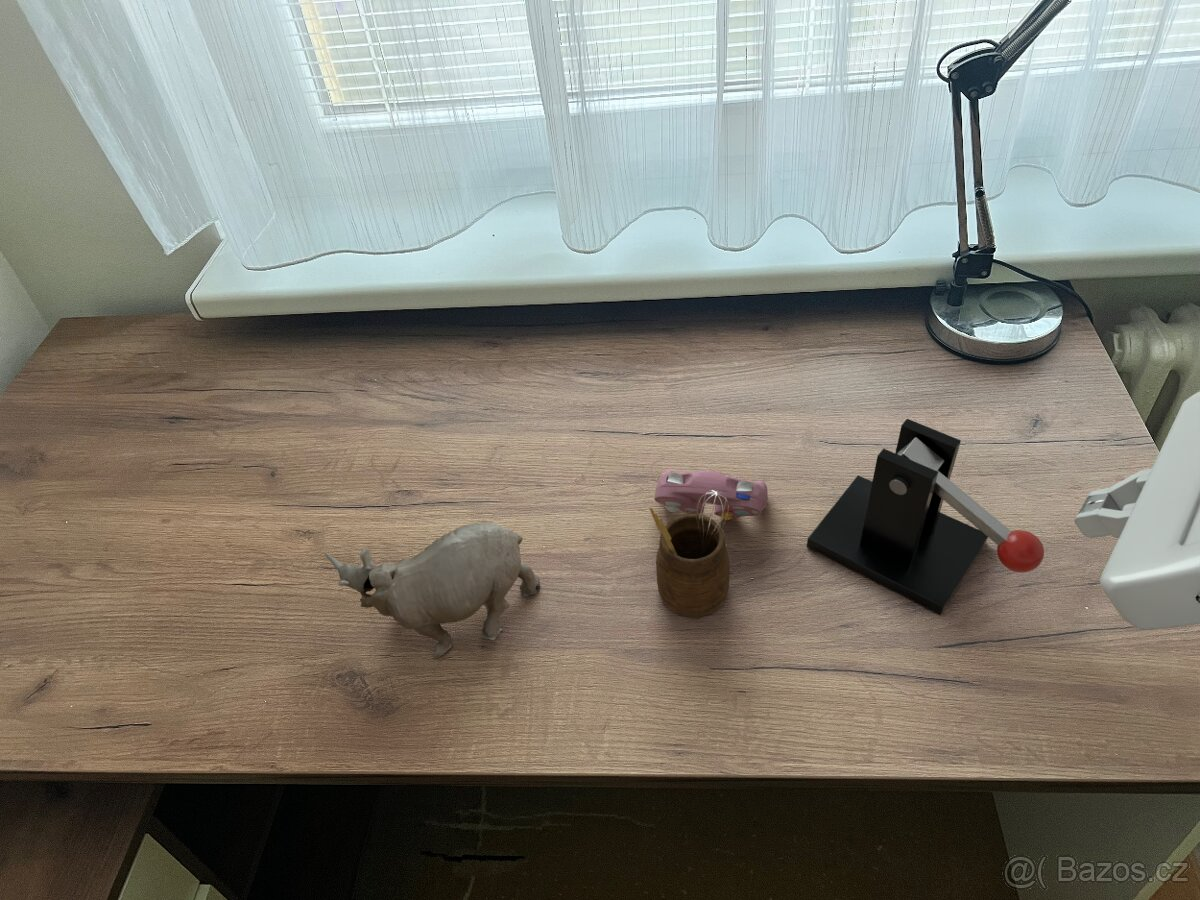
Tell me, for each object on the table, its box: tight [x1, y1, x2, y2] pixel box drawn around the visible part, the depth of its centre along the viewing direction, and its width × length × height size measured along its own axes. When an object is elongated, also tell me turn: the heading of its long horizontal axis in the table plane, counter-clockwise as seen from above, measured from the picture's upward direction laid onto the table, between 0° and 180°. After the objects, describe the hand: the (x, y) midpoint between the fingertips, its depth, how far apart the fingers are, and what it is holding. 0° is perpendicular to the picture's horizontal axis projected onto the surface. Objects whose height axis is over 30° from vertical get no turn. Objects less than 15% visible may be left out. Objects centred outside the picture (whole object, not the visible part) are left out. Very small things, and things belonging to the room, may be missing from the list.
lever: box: [898, 437, 1045, 574], centre depth 67 cm, size 13×3×3 cm, turn 52°
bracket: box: [806, 418, 989, 616], centre depth 71 cm, size 12×9×12 cm
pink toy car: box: [654, 469, 769, 521], centre depth 77 cm, size 10×5×7 cm
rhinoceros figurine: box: [324, 522, 541, 659], centre depth 70 cm, size 8×14×15 cm
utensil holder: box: [648, 490, 731, 618], centre depth 69 cm, size 6×6×12 cm
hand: (1085, 515), depth 59 cm, fingers closed
